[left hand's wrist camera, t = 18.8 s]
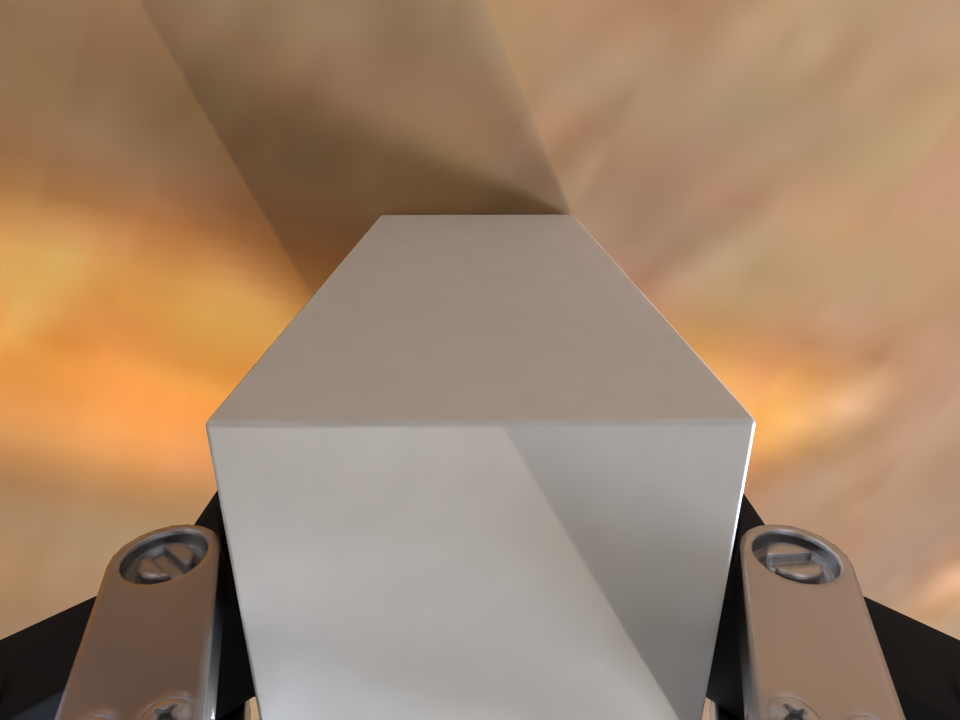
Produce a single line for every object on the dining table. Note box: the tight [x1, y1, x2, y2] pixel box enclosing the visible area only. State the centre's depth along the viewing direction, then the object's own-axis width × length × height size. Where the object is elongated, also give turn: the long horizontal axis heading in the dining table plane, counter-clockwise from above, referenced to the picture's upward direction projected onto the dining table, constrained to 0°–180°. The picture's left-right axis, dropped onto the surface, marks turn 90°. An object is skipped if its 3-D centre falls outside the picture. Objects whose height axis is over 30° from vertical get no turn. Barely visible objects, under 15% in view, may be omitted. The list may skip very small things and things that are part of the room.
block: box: [206, 215, 755, 720], centre depth 13 cm, size 7×5×12 cm
